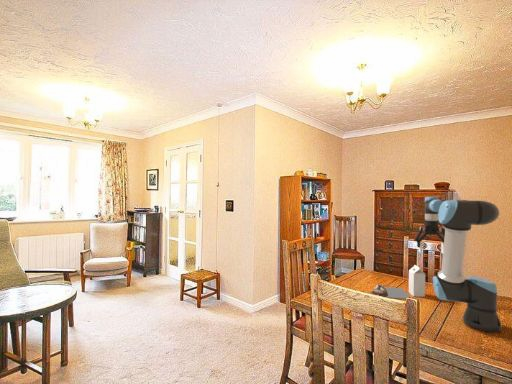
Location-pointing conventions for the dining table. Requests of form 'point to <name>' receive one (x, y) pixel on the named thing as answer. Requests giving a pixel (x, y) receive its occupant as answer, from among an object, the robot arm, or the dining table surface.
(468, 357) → the dining table surface
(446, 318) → the dining table surface
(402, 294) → the mat
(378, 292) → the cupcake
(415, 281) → the milk carton
